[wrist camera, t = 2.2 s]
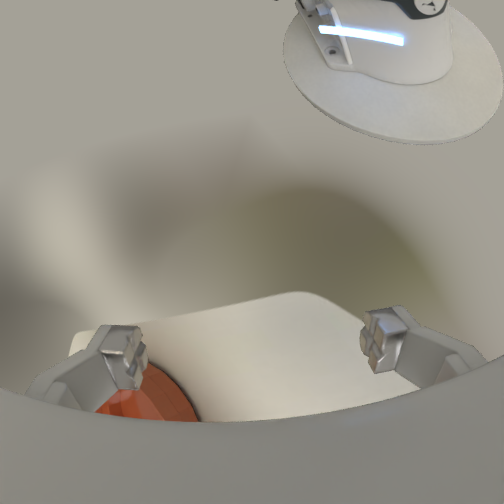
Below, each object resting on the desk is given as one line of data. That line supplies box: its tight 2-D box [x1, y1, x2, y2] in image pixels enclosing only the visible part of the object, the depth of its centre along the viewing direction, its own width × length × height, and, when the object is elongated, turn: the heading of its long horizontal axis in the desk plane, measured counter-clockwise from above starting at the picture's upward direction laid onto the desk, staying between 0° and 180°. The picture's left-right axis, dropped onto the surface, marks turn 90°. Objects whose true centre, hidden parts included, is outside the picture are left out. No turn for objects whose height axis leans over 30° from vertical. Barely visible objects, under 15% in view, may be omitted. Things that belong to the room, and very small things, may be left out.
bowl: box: [95, 363, 198, 422], centre depth 32 cm, size 18×18×6 cm
